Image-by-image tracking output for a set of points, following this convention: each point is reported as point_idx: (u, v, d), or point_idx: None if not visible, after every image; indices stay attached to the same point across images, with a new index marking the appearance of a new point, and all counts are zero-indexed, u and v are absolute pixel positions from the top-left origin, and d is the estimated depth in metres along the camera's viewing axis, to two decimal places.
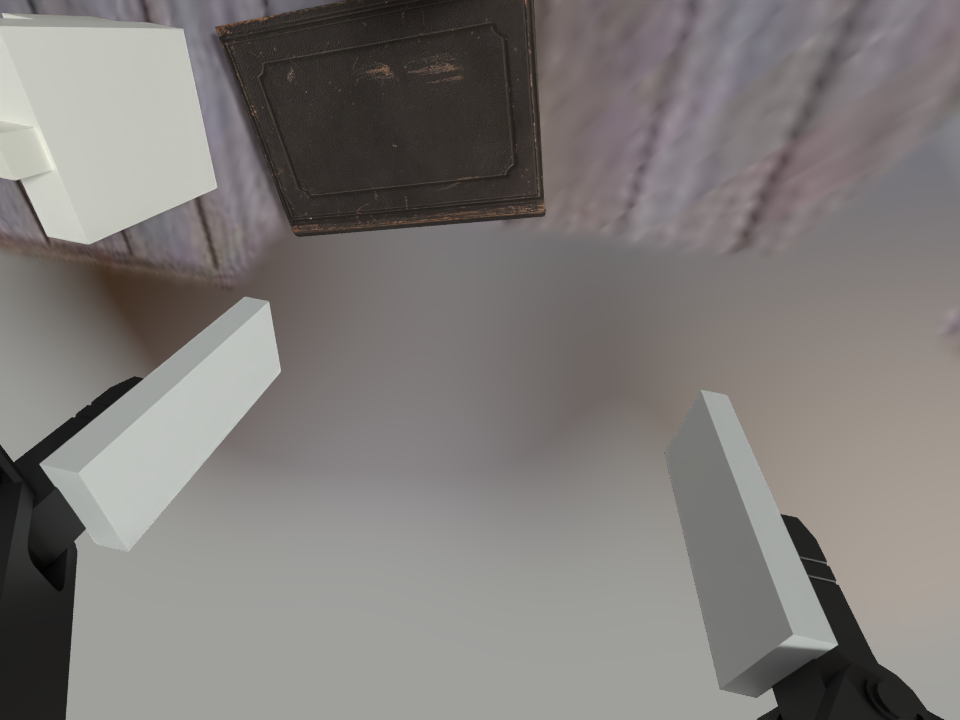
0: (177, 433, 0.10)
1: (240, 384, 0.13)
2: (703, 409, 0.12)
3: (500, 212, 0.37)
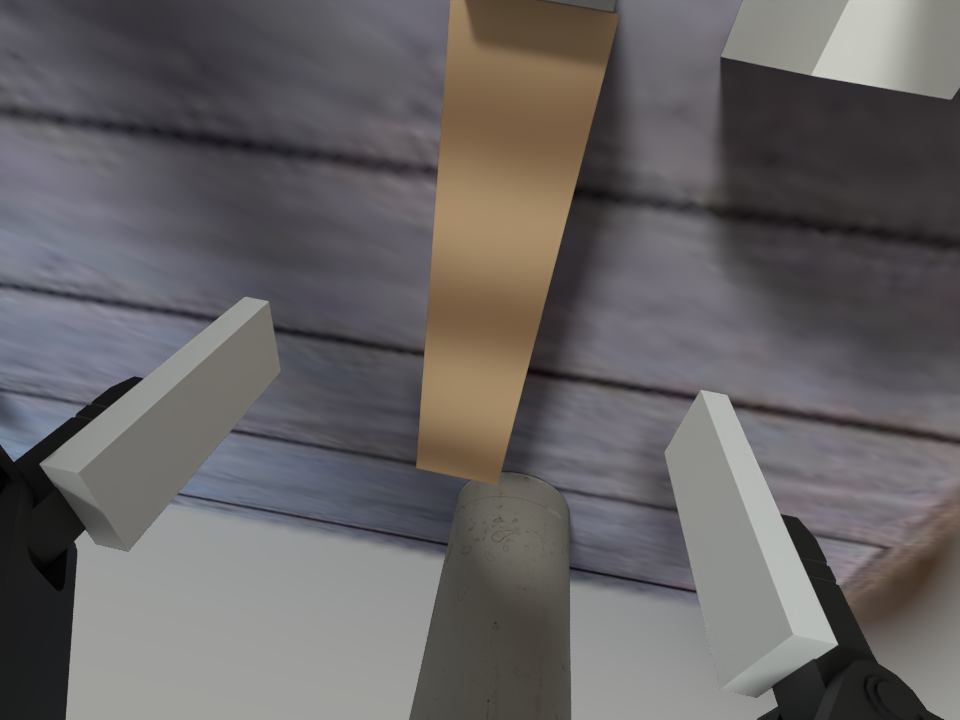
0: (177, 433, 0.10)
1: (240, 384, 0.13)
2: (702, 409, 0.12)
3: None
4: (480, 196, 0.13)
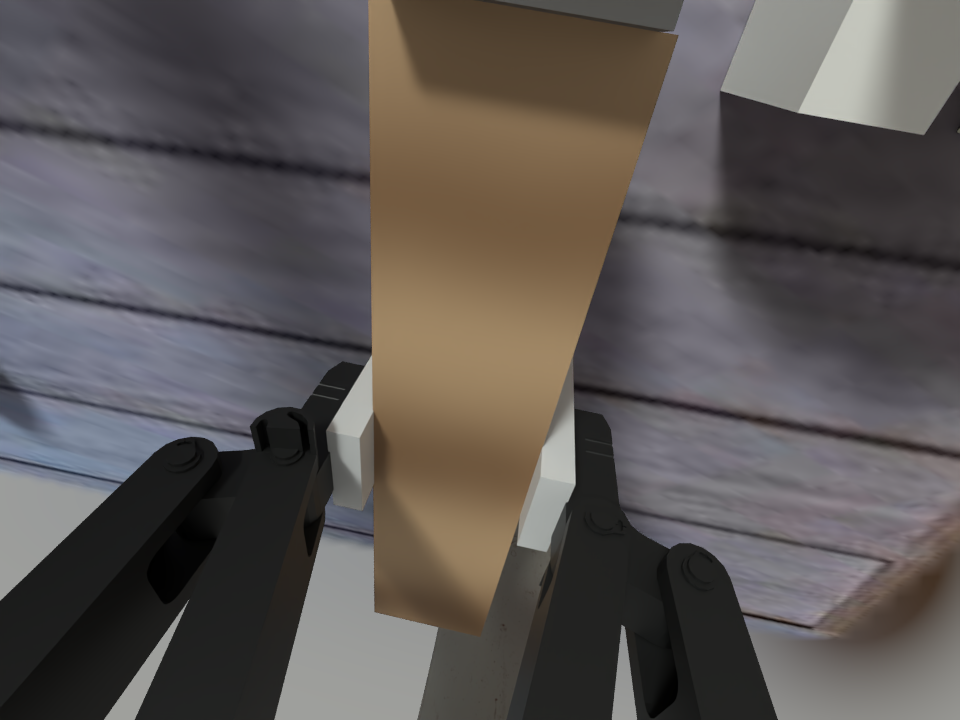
0: None
1: None
2: None
3: None
4: (440, 312, 0.08)
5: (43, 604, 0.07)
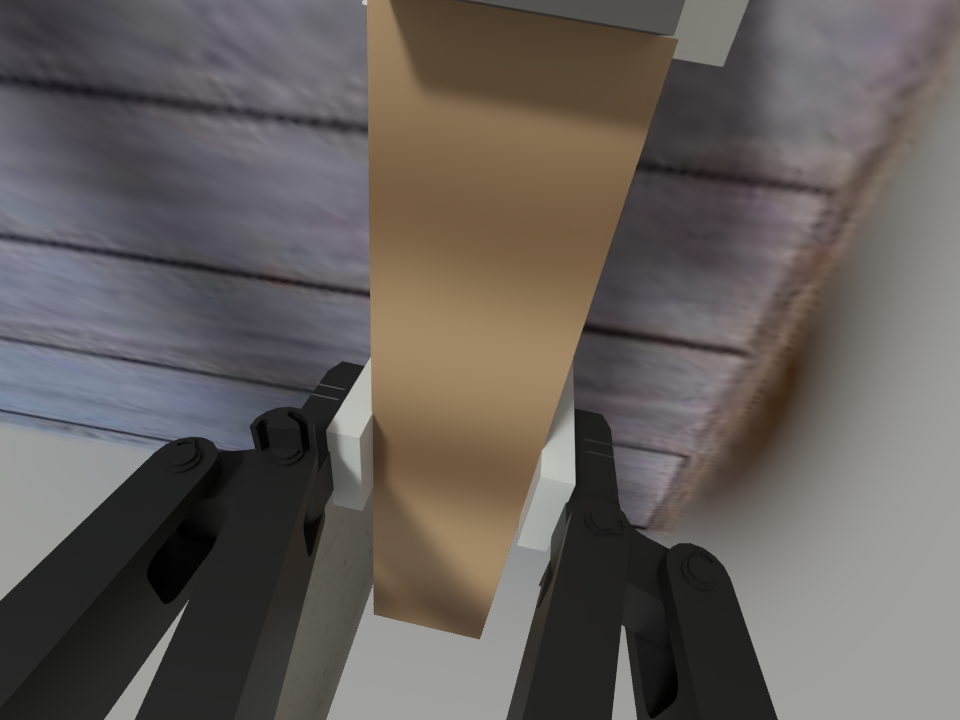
0: None
1: None
2: None
3: None
4: (438, 316, 0.08)
5: (43, 604, 0.07)
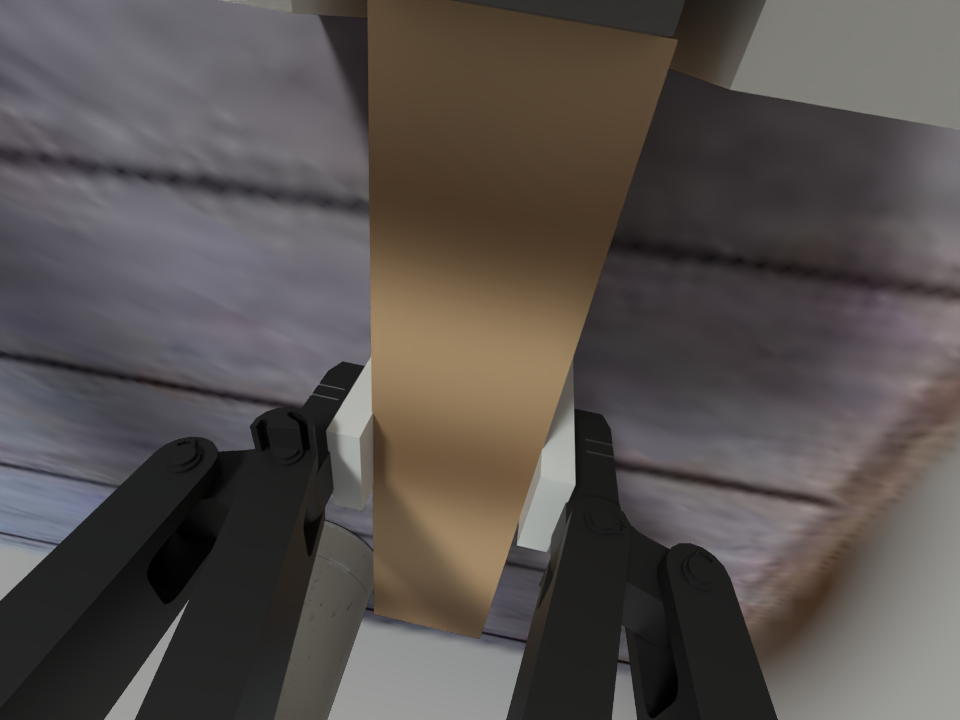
0: None
1: None
2: None
3: None
4: (439, 316, 0.08)
5: (43, 604, 0.07)
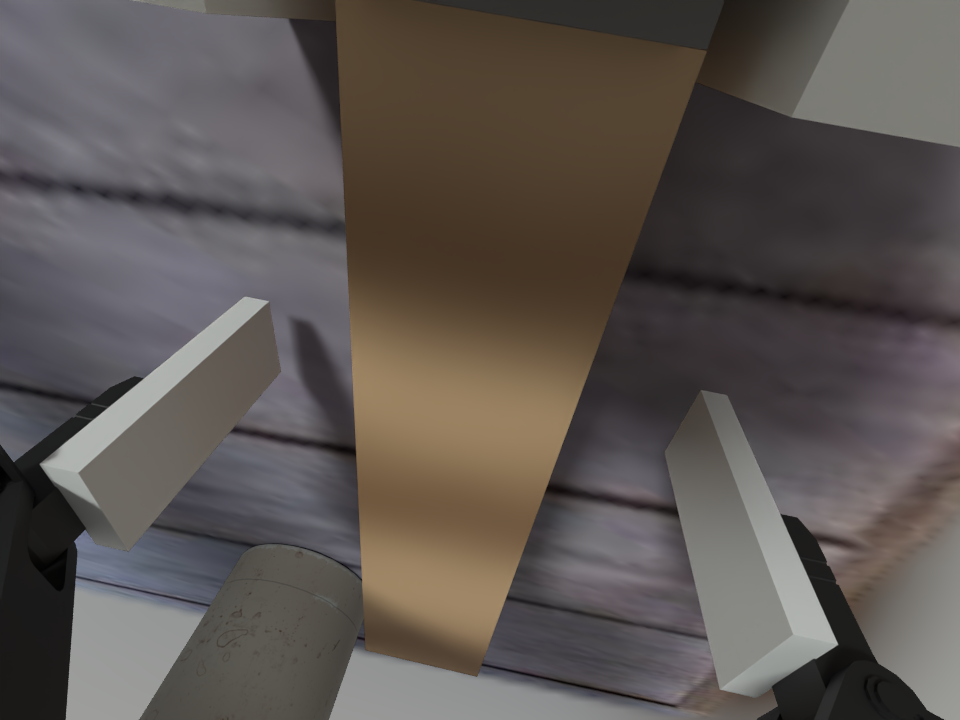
0: (177, 433, 0.10)
1: (240, 384, 0.13)
2: (703, 409, 0.12)
3: None
4: (428, 356, 0.08)
5: None
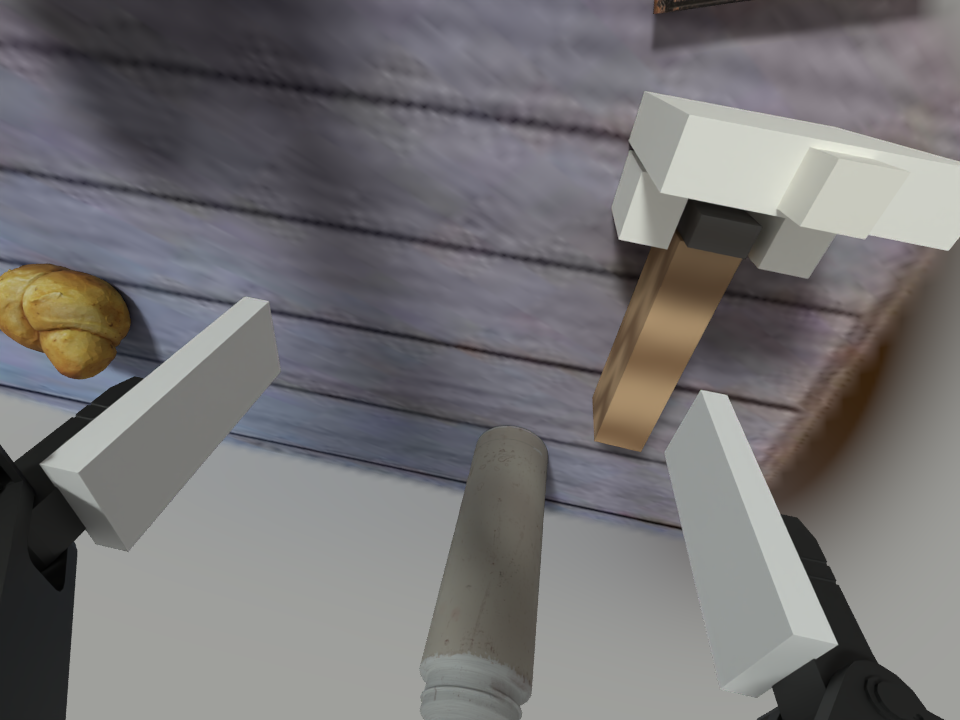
0: (177, 433, 0.10)
1: (240, 384, 0.13)
2: (703, 409, 0.12)
3: None
4: (671, 310, 0.30)
5: None
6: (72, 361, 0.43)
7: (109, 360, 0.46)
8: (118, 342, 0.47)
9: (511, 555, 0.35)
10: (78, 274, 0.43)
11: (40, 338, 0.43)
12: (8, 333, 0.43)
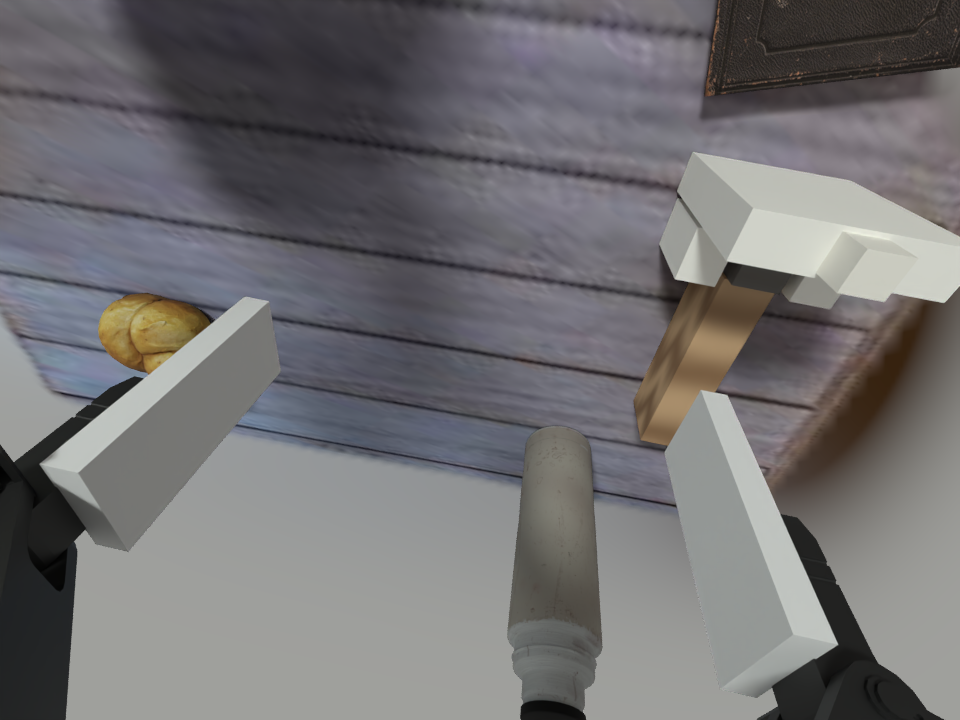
0: (177, 433, 0.10)
1: (240, 384, 0.13)
2: (702, 409, 0.12)
3: None
4: (714, 333, 0.37)
5: None
6: None
7: None
8: None
9: (575, 538, 0.42)
10: (176, 303, 0.48)
11: (144, 360, 0.49)
12: (116, 356, 0.48)
